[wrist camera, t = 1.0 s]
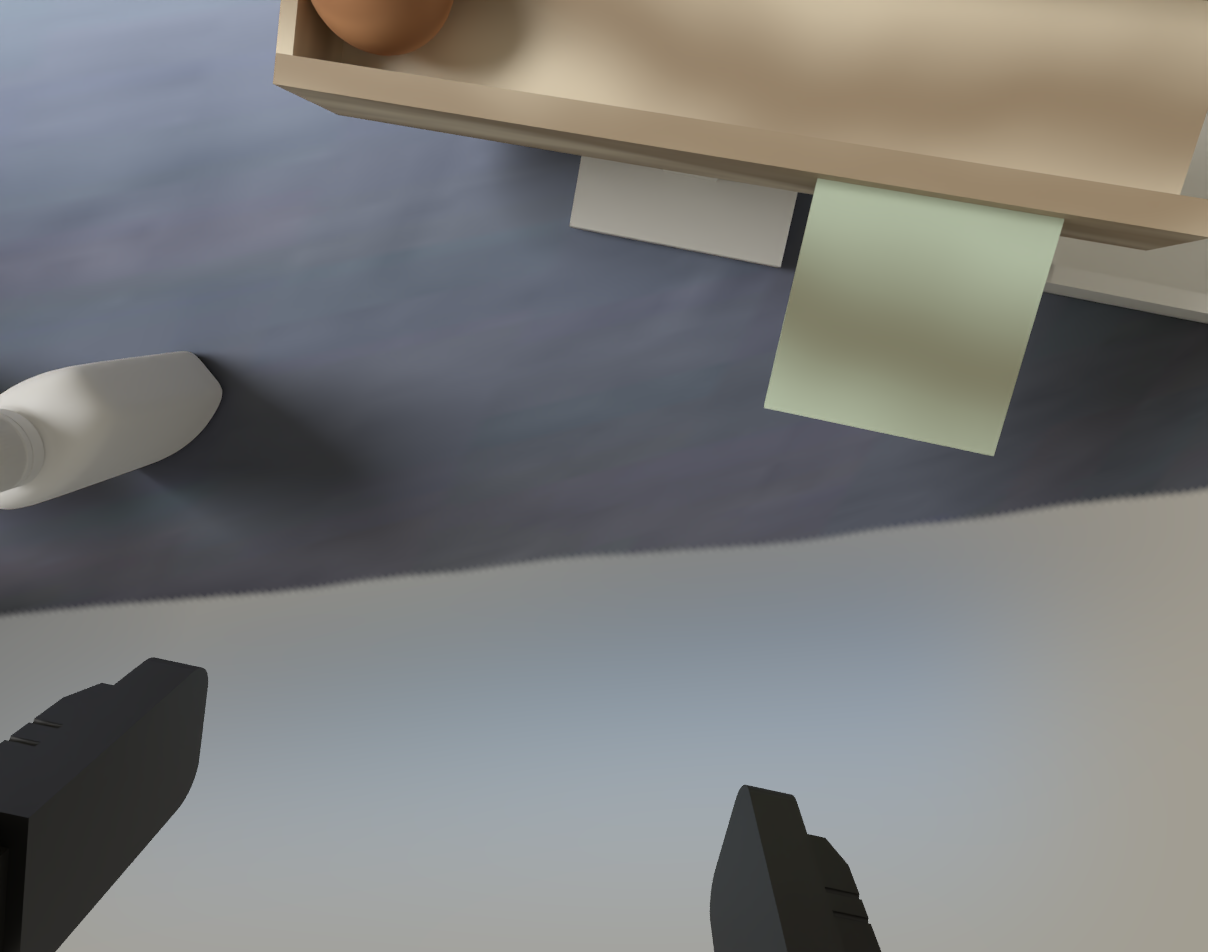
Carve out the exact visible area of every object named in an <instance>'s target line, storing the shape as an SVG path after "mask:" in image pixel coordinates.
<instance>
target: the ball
mask: <svg viewBox="0 0 1208 952" xmlns="http://www.w3.org/2000/svg"><path fill="white" fill-rule="evenodd" d="M311 2H312V4H313V6H314V7H315V9H316V11H317V13H318V14H319V16H320V17H321V18H322V20H323V21H324V22H325V23H326V25H327V26H328V27H329V28H330V29H331V30H332V31H333V32H334V33H335V34H336V35H337V36H339V37H340V38H341V39H343V40H344V41H345V42H347V43H348V44H350V45H352V46H354V47H355V48H357V49H360V50H362V51H365V52H368V53H372V54H376V55H383V56H393V55H401V54H406V53H409V52H412V51H415V50H417V49H418V48H420V47H422V46H424V45H425V44H426V43H428V42H429V41H430V40H431V39H432V38H433V37H434V36H435V35H436V34H437V33H438V32H439V31H440V29H441V28H442V27H443V25H444V23H445V22H446V20H447V18H448V15H449V13H450V10H451V7H452V4H453V0H311Z"/></svg>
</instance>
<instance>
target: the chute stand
mask: <svg viewBox="0 0 1208 952" xmlns="http://www.w3.org/2000/svg"><path fill="white" fill-rule="evenodd" d="M797 193H798V192H794V191H788V190H782V189H776V188H770V187H764V186H759V185H753V184H747V183H741V182H735V181H729V180H723V179H717V178H711V177H705V176H699V175H693V174H687V173H681V172H675V171H669V170H663V169H657V168H652V167H646V166H640V165H634V164H628V163H622V162H616V161H610V160H604V159H598V158H592V157H586V156H581V162H580V168H579V173H578V179H577V185H576V191H575V197H574V202H573V208H572V214H571V220H570V225H569V226H570V227H571V228H576V229H582V230H587V231H592V232H597V233H602V234H607V235H612V236H617V237H623V238H628V239H633V240H638V241H643V242H648V243H653V244H658V245H664V246H669V247H674V248H679V249H684V250H689V251H694V252H699V253H705V254H710V255H715V256H720V257H725V258H730V259H735V260H741V261H746V262H751V263H756V264H761V265H766V266H771V267H776V268H777V267H781V263H782V259H783V254H784V250H785V246H786V241H787V237H788V233H789V228H790V224H791V220H792V215H793V211H794V207H795V202H796V198H797Z"/></svg>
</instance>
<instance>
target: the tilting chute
mask: <svg viewBox="0 0 1208 952" xmlns="http://www.w3.org/2000/svg"><path fill="white" fill-rule="evenodd" d="M273 84H275V85H277V86H279V87H281V88H283V89H285V90H287V91H289V92H291V93H293V94H295V95H298V96H300V97H302V98H304V99H306V100H308V101H310V102H312V103H314V104H316V105H319V106H321V107H323V108H325V109H327V110H329V111H331V112H333V113H335V114H337V115H342V116H348V117H354V118H360V119H366V120H372V121H378V122H384V123H390V124H396V125H402V126H408V127H414V128H420V129H426V130H432V131H438V132H443V133H449V134H455V135H461V136H467V137H473V138H479V139H485V140H491V141H497V142H503V143H509V144H515V145H521V146H527V147H533V148H539V149H545V150H550V151H556V152H562V153H568V154H574V155H580V156H586V157H592V158H598V159H604V160H610V161H616V162H622V163H628V164H634V165H640V166H646V167H652V168H657V169H663V170H669V171H675V172H681V173H687V174H693V175H699V176H705V177H711V178H717V179H723V180H729V181H735V182H741V183H747V184H753V185H759V186H764V187H770V188H776V189H782V190H788V191H794V192H800V193H806V194H812V195H813V198H812V202H811V206H810V211H809V215H808V219H807V223H806V228H805V232H804V236H803V241H802V245H801V249H800V253H799V258H798V262H797V266H796V271H795V275H794V279H793V283H792V288H791V292H790V296H789V301H788V305H787V309H786V313H785V318H784V322H783V326H782V331H781V335H780V339H779V343H778V348H777V352H776V356H775V360H774V365H773V369H772V373H771V378H770V382H769V386H768V390H767V395H766V399H765V404H764V408H767V409H772V410H777V411H782V412H786V413H791V414H796V415H801V416H805V417H810V418H815V419H820V420H824V421H829V422H834V423H839V424H843V425H848V426H853V427H857V428H862V429H867V430H872V431H876V432H881V433H886V434H891V435H895V436H900V437H905V438H910V439H914V440H919V441H924V442H929V443H933V444H938V445H943V446H948V447H952V448H957V449H962V450H967V451H971V452H976V453H981V454H985V455H990V456H994V453H995V450H996V447H997V443H998V440H999V437H1000V433H1001V430H1002V427H1003V423H1004V420H1005V417H1006V413H1007V410H1008V407H1009V403H1010V400H1011V397H1012V393H1013V390H1014V387H1015V383H1016V380H1017V377H1018V373H1019V370H1020V366H1021V363H1022V360H1023V356H1024V353H1025V350H1026V346H1027V343H1028V340H1029V336H1030V333H1031V330H1032V326H1033V323H1034V320H1035V316H1036V313H1037V310H1038V306H1039V303H1040V300H1041V296H1042V293H1043V290H1044V286H1045V283H1046V280H1047V276H1048V273H1049V269H1050V266H1051V263H1052V259H1053V256H1054V253H1055V249H1056V246H1057V243H1058V239H1059V236H1062V237H1068V238H1074V239H1080V240H1085V241H1091V242H1097V243H1103V244H1109V245H1115V246H1121V247H1127V248H1133V249H1139V250H1145V251H1147V250H1152V249H1157V248H1162V247H1168V246H1173V245H1178V244H1183V243H1188V242H1193V241H1198V240H1203V239H1208V199H1203V198H1196V197H1190V196H1184V195H1180V193H1181V190H1182V187H1183V184H1184V181H1185V178H1186V175H1187V172H1188V169H1189V166H1190V163H1191V160H1192V157H1193V153H1194V150H1195V147H1196V144H1197V141H1198V138H1199V135H1200V132H1201V129H1202V126H1203V123H1204V120H1205V117H1206V114H1207V111H1208V0H453V4H452V7H451V10H450V13H449V15H448V18H447V20H446V22H445V23H444V25H443V27H442V28H441V29H440V31H439V32H438V33H437V34H436V35H435V36H434V37H433V38H432V39H431V40H430V41H429V42H428V43H426V44H425V45H424V46H422V47H420V48H418V49H417V50H415V51H412V52H409V53H406V54H401V55H393V56H383V55H376V54H372V53H368V52H365V51H362V50H360V49H357V48H355V47H354V46H352V45H350V44H348V43H347V42H345V41H344V40H343V39H341V38H340V37H339V36H337V35H336V34H335V33H334V32H333V31H332V30H331V29H330V28H329V27H328V26H327V25H326V23H325V22H324V21H323V20H322V18H321V17H320V16H319V14H318V13H317V11H316V9H315V7H314V6H313V4H312V2H311V0H281V5H280V16H279V26H278V37H277V48H276V58H275V69H274V80H273Z"/></svg>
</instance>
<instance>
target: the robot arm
mask: <svg viewBox="0 0 1208 952" xmlns="http://www.w3.org/2000/svg"><path fill="white" fill-rule="evenodd" d="M207 688H208V676H207V672H206V670H205V669H204V668H201V667H196V666H191V665H187V664H182V663H178V662H173V661H168V660H163V659H159V658H149V659H147V660H146V661H144V662H143V663H142V664H141V665H139V666H138V667H137V668H135V669H134V670H133V671H131V672H130V673H129V674H127V675H126V676H125V677H124V678H123V679H121V680H120V681H118V683H116V684H115V685H109V684H104V683H100V684H98V685H95V686H93V687H90V688H87V689H85V690H82V691H80V692H77V693H74V694H71V695H69V696H66V697H64V698H62V699H61V700H59V701H58V702H57V703H55V704H54V705H52V706H51V707H50V708H48V709H47V710H46V711H44V712H43V713H42V714H40V715H39V716H37V717H36V718H35V719H34V722H33V723H28V724H26V725H25V726H24V727H22V728H21V729H20V730H18V731H17V732H15V733H14V734H13V735H11V738H10V740H9V741H6V740H4V741H3V742H2V743H0V952H55V951H56V950H57V949H58V948H59V947H60V946H61V944H62V943H63V942H64V941H65V940H66V939H67V937H68V936H69V935H70V934H71V933H72V932H73V930H74V929H75V928H76V927H77V926H78V924H79V923H80V922H81V921H82V920H83V919H84V918H85V916H86V915H87V914H88V913H89V912H90V911H91V910H92V908H93V907H94V906H95V905H96V904H97V903H98V901H99V900H100V899H101V898H102V897H103V895H104V894H105V893H106V892H107V891H108V890H109V889H110V887H111V886H112V885H113V884H114V883H115V882H116V880H117V879H118V878H119V877H120V876H121V875H122V873H123V872H124V871H125V870H126V869H127V868H128V866H129V865H130V864H131V863H132V862H133V861H134V859H135V858H136V857H137V856H138V855H139V854H140V852H141V851H142V850H143V849H144V848H145V847H146V846H147V844H148V843H149V842H150V841H151V840H152V838H153V837H154V836H155V835H156V834H157V833H158V832H159V830H160V829H161V828H162V827H163V826H164V825H165V823H166V822H167V821H168V820H169V819H170V817H171V816H172V815H173V814H174V813H175V812H176V811H177V809H178V808H179V807H180V806H181V804H182V803H183V801H184V799H185V798H186V796H187V794H188V792H189V790H190V788H191V786H192V783H193V780H194V778H195V775H196V772H197V768H198V763H199V756H200V747H201V739H202V731H203V722H204V714H205V705H206V697H207ZM710 921H711V929H712V937H713V945H714V952H881V950H880V947H879V945H878V942H877V939H876V937H875V934H874V931H873V929H872V926H871V924H868V916H867V913H866V911H865V908H864V905H863V903H862V900H860V899H859V892H858V889H857V887H856V884H855V882H854V879H853V876H852V874H851V871H850V868H849V866H848V864H847V863H846V862H845V861H844V860H843V858H842V857H841V856H840V855H839V854H838V852H837V851H836V850H835V849H834V848H833V847H832V845H831V844H830V843H829V842H828V841H827V840H826V838H823V837H819V836H814V835H809V834H807V832H806V829H805V826H804V823H803V820H802V816H801V814H800V810H799V807H798V804H797V801H796V799H795V797H794V796H793V795H790V794H786V793H781V792H776V791H771V790H767V789H762V788H758V787H753V786H748V785H743V786H742V787H741V788H740V790H739V792H738V795H737V798H736V800H735V804H734V807H733V811H732V815H731V818H730V821H729V825H728V828H727V831H726V835H725V839H724V842H723V845H722V849H721V852H720V856H719V859H718V862H717V866H716V869H715V873H714V878H713V883H712V889H711V900H710Z"/></svg>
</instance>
